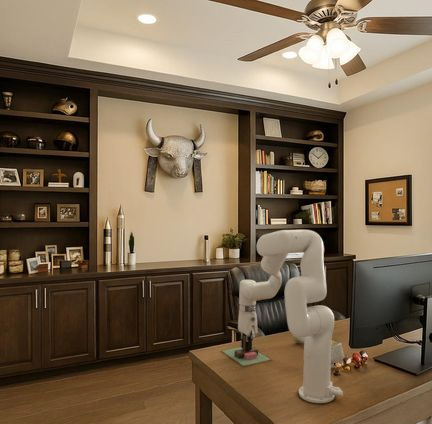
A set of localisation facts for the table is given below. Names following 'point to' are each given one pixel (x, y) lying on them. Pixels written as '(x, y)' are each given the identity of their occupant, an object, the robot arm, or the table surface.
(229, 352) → the desk pad
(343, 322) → the table surface
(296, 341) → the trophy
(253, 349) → the brown t-shaped block
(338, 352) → the arrowhead
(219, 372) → the table surface
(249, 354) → the eraser
